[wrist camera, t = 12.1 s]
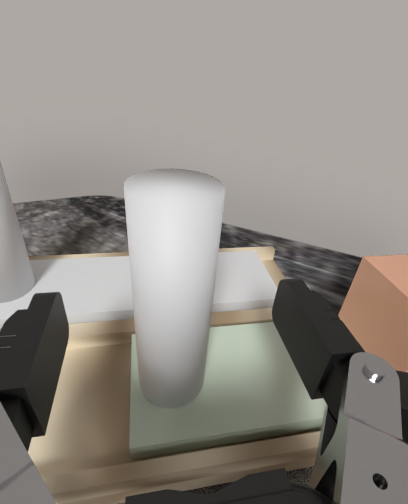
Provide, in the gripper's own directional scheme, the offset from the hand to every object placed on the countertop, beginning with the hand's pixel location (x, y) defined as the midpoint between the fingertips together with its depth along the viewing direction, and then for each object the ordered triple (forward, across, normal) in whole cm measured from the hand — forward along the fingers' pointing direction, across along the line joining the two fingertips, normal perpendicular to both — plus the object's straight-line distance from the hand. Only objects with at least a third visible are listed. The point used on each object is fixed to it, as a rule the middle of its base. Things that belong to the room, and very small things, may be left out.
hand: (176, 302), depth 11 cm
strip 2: (+1, -8, +7) cm, 10 cm away
